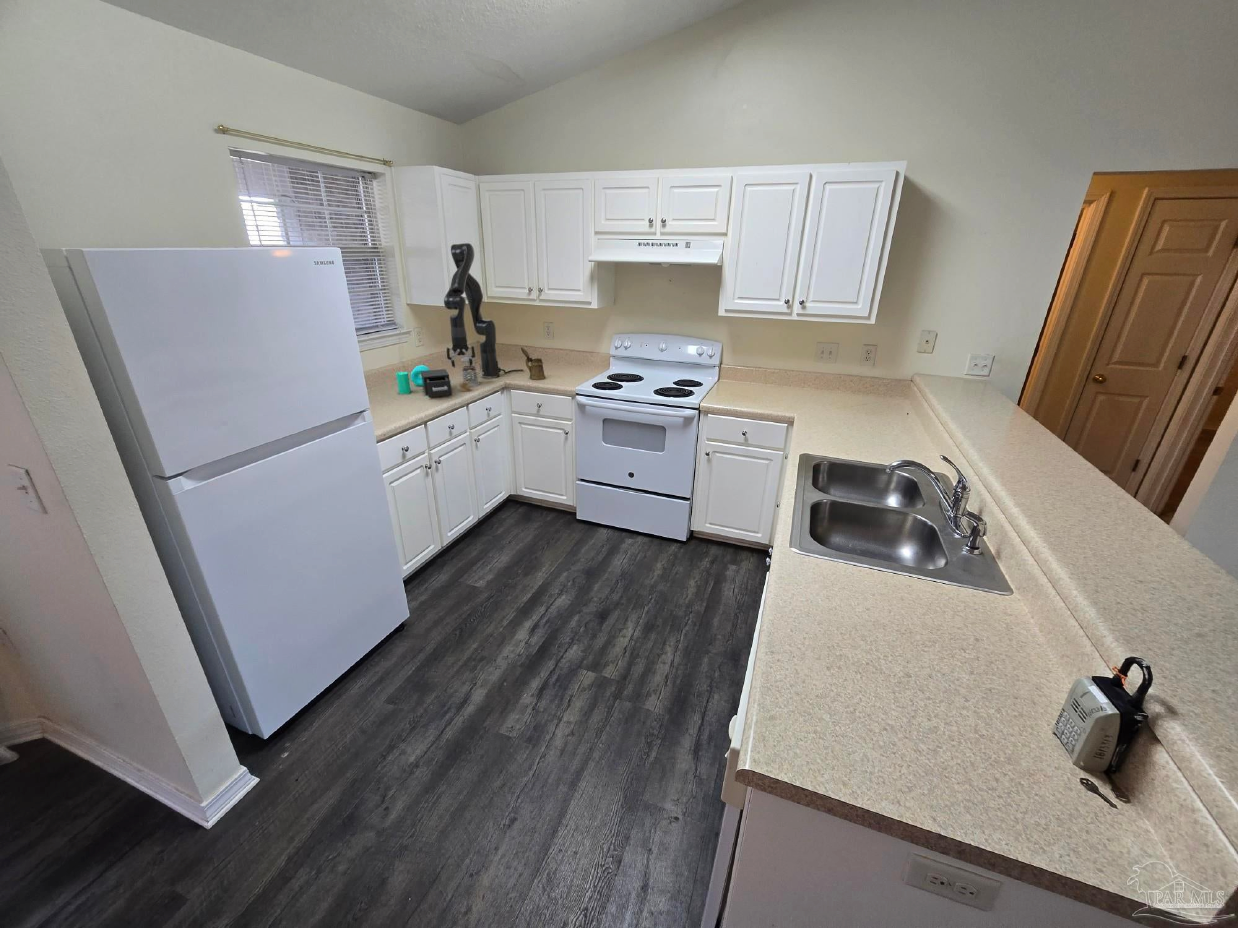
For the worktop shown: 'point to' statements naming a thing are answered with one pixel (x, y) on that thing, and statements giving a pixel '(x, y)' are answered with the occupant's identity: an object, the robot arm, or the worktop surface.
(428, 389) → the drawer
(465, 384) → the block
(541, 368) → the wooden mug
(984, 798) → the worktop surface
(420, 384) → the donuts
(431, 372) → the box
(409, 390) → the candle
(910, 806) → the worktop surface
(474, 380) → the french press
